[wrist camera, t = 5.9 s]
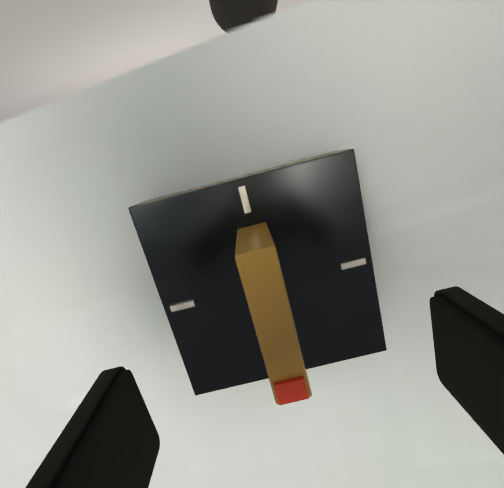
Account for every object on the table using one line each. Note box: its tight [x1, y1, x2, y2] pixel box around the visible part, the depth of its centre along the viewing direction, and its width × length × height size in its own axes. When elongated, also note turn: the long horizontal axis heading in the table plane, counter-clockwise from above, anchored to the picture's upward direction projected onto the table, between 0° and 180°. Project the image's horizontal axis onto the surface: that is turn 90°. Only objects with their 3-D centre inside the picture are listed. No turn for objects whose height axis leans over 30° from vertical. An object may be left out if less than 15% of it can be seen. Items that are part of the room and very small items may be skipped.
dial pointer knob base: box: [129, 149, 386, 395], centre depth 19 cm, size 12×12×3 cm
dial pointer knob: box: [235, 222, 312, 405], centre depth 15 cm, size 7×2×5 cm, turn 14°
